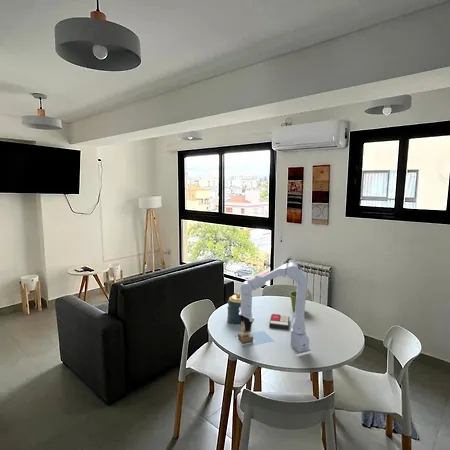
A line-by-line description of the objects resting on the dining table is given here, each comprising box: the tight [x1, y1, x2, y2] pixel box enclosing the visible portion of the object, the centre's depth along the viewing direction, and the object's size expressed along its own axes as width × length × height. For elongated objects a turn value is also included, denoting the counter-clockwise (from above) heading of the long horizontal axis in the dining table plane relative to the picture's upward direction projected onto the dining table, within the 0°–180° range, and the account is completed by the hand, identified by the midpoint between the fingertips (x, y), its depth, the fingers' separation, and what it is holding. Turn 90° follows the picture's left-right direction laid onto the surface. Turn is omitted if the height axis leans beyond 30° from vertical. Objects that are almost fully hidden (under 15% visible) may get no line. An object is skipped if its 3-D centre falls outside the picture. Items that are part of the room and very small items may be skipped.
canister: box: [226, 292, 241, 325], centre depth 182 cm, size 13×13×18 cm
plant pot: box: [289, 290, 308, 312], centre depth 199 cm, size 12×12×11 cm
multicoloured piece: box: [268, 313, 290, 331], centre depth 179 cm, size 11×4×15 cm
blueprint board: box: [234, 330, 275, 348], centre depth 161 cm, size 12×18×1 cm, turn 111°
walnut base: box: [237, 331, 253, 344], centre depth 159 cm, size 6×6×3 cm
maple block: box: [240, 321, 252, 334], centre depth 158 cm, size 4×4×5 cm
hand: (245, 329), depth 158 cm, fingers closed on maple block, 4 cm apart
